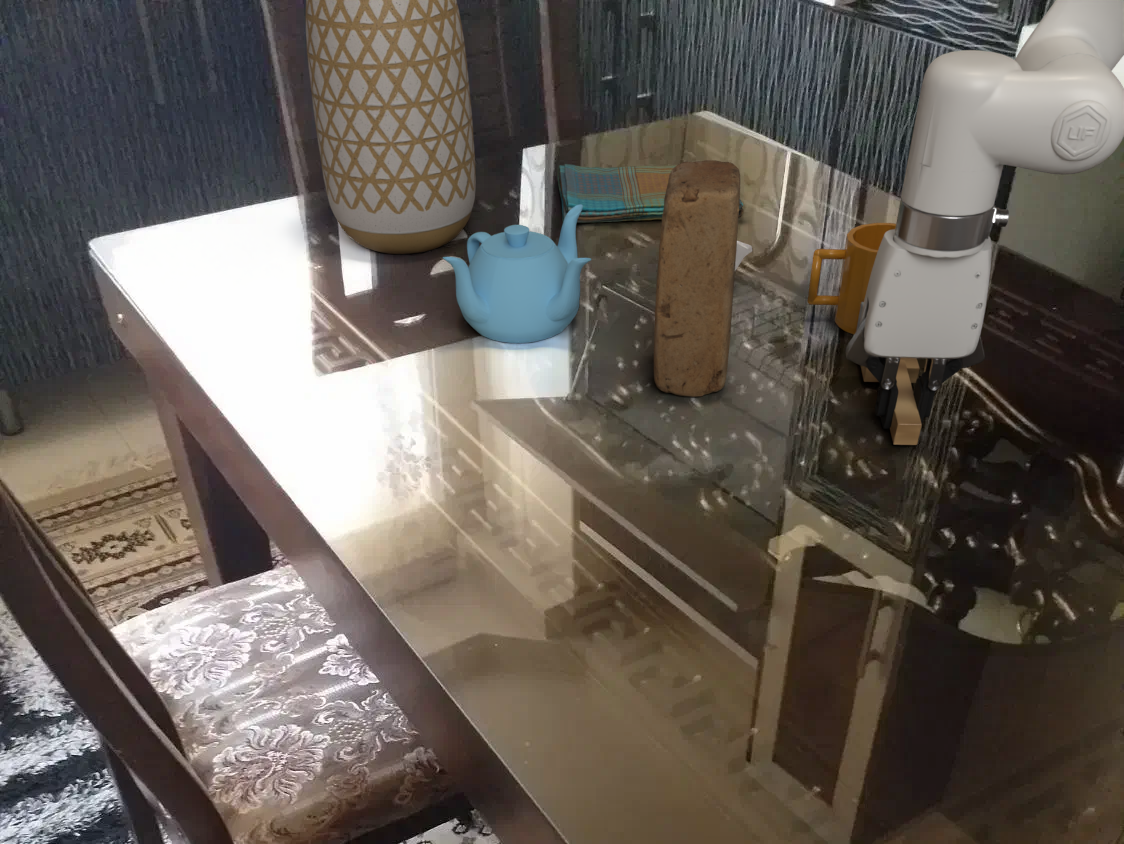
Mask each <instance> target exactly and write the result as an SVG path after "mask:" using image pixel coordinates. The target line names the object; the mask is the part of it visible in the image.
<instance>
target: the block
mask: <svg viewBox="0 0 1124 844" xmlns="http://www.w3.org/2000/svg"><path fill="white" fill-rule="evenodd" d="M676 165H677V166H675V167H674V168H673V169H672V171H671V173H670V175H669V180H668V185H667V189H666V194H665V198H664V209H663V215H662V219H661V225H660V236H659V244H658V245H659V246H658V260H657V272H656V285H655V287H656V288H655V289H656V290H655V304H654V326H653V328H654V329H653V330H654V331H653V333H654V334H653V380H654V383H655V386H656V388H657V389H659V390H660V391H662V392H664V393H667V394H673V395H676V396H680V397H691V398H692V397H693V398H694V397H695V398H696V397H703V396H706V395H709V394H712V393H717V392H719V391H721V390H722V389H723V388H724V387H725V385H726V381H727V374H728V365H729V355H730V345H731V337H732V336H731V335H732V334H731V333H732V319H733V318H732V317H733V302H734V287H735V274H736V271H735V262H736V249H737V241H738V233H739V217H740V216H739V201H740V200H741V173H740V168H739V167H738V166H737V165H736V164H734V163H733V162H730V161H721V160H715V159H714V160H713V159H712V160H711V159H706V160H696V161H682V162H681V163H678V164H676Z"/></svg>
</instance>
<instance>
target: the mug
mask: <svg viewBox="0 0 1124 844" xmlns="http://www.w3.org/2000/svg"><path fill="white" fill-rule="evenodd" d="M895 227H896V222H895V223H894V222H872V223H865V224H860V225H858V226H856V227H853V228H851V229H850V230H849V232H848V233H846V238H845V244H844V249H843V248H817V249H815V250H814V251H813V253H812V262H811V269H810V276H809V283H808V291H807V298H806V302H807V304H808V305H809V306H835V309H834V323H835V324H836V325H837V327H839V328H840V329H841V330H843V331H844V332H846V333H848V334H851V335H854V334H855V333H856V330H857V325H858V319H859V313H860V307H861V302H864V300H865V295H866V291H867V287H868V283H869V279H870V276H871V272H872V268H873V265H874V262H875V258H876V255H877V252H878V249H879V247H880V244H881V241H882V239H883V237H884V234H885V233H886V232H887V231H889V230H893V229H895ZM823 260H836V261H837V260H842V264H841V268H840V269H841V270H840V275H839V283H838V289H837V295H830V294H829V295H828V294H827V295H825V294H823V295H822V294H818V292H819V286H820V278H821V271H822V265H823Z"/></svg>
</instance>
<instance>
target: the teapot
mask: <svg viewBox="0 0 1124 844" xmlns="http://www.w3.org/2000/svg"><path fill="white" fill-rule="evenodd" d="M582 208H583V205H581V204H580V205H576V206H575V207H573V208H572V209H571V210H570V211H569V212H568V213H567V215H566V216H565V219H564V221H562V225H561V229H560V234H559V238H558V243H557V244H556V243H555V242H554V240H552V238H551V237H549V236H548V235H546V234H543V233H540V232H536V231H530V228H529V227H528V226H526V225H524V224H512V225H508V226H506V227H504V229H503V232H498V233H495V234H493V235H491V234H489V233H488V232H486V231H477V232H475V233H473V234H471V235H470V236H469V237H468V239H467V241H466V251H467V258H468V262H469V264H467V262H466V261H465V260H464V259H463V258H460V257H456V256H442V259H443V260H444V261H446V262H447V263H448V264H450V266H451V267H452V269H453V272H454V277H455V297H456V302H457V304H458V307H459V309H460V313H461V315H462V317H463V318H464V320H465V321H466V323H468V324H469V326H470V327H472V328H473V330H475V331H476V332H477V333H478V334H480V335H481V336H482V337H484V338H487V339H489V340H492V341H497V342H501V343H510V344H526V343H535V342H540V341H544V340H548V339H551V338H552V337H555V336H556V335H559V334H560V333H562V332H563V331H565V330H566V328H567V327H568V326H569V325H570V324H571V322H572V321H573V320H574V319H575V318H576V316H577V314H578V312H579V309H580V299H581V273H582V270H583V268H584V266H585V265H586V264H588V263H590V262H591V261H592V258H590V257H578V256H579V255H578V246H577V245H578V244H577V232H576V231H577V224H578V223H577V220H578V217H579V215H580V213H581V211H582Z"/></svg>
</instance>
